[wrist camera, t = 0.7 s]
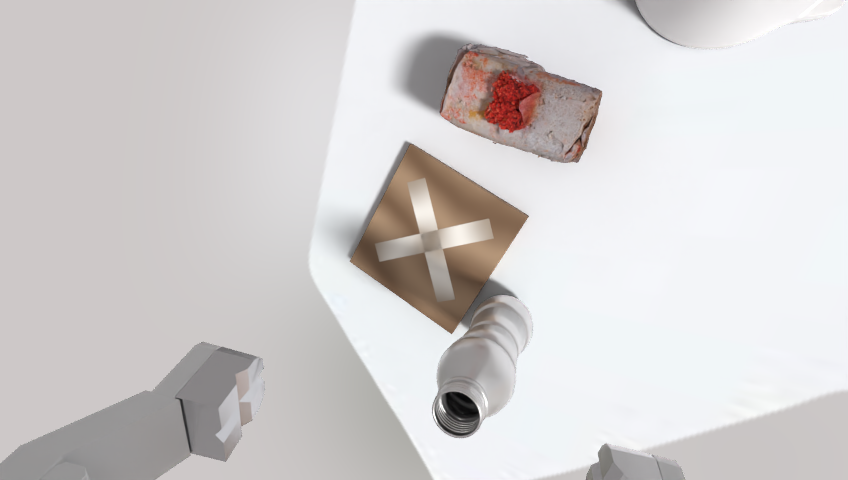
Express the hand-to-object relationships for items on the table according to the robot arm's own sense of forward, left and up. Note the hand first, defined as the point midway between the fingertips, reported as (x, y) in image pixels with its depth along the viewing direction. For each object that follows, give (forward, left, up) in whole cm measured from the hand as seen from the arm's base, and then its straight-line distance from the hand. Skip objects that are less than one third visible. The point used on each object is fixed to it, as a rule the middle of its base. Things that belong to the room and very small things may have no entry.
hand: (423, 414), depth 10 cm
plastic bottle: (+12, +2, -38) cm, 40 cm away
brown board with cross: (+9, -9, -38) cm, 40 cm away
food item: (-8, -8, -38) cm, 40 cm away
